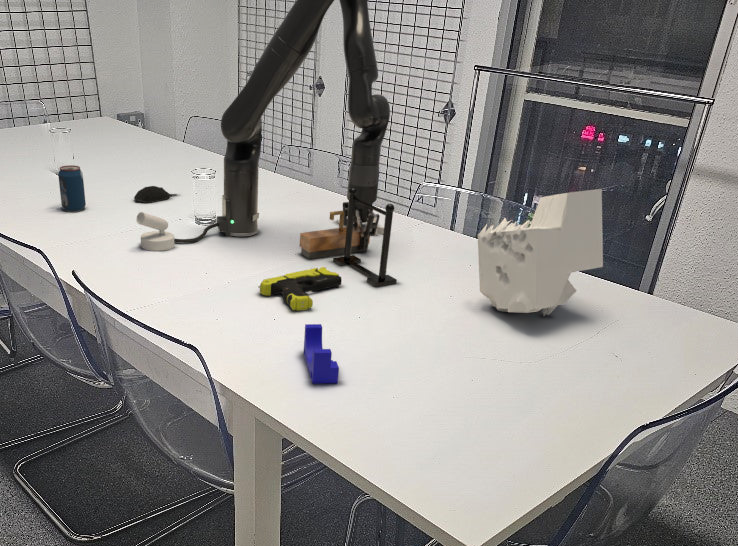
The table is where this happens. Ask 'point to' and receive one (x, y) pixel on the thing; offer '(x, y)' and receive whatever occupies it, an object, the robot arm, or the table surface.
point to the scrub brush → (329, 240)
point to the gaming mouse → (152, 194)
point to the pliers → (378, 230)
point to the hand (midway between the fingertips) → (357, 247)
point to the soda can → (71, 188)
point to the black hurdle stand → (354, 260)
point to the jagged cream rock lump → (541, 253)
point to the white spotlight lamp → (155, 233)
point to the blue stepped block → (318, 357)
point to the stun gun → (300, 286)
